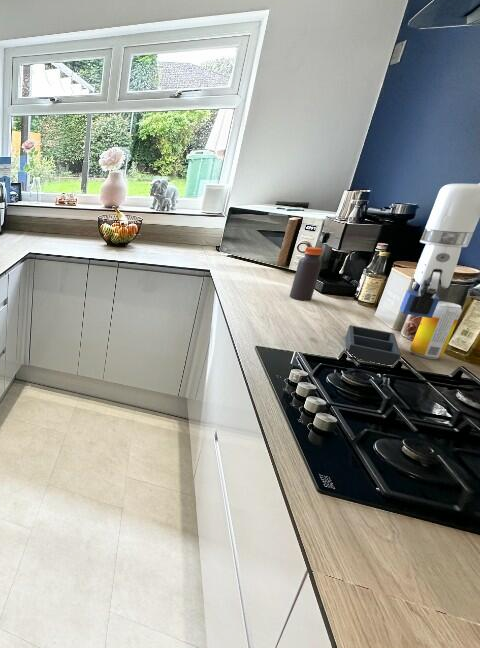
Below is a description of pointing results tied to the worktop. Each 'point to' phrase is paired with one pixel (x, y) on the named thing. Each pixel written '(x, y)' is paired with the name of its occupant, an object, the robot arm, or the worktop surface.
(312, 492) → the worktop surface
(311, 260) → the bottle
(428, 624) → the worktop surface
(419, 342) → the beer can
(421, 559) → the worktop surface
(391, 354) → the sorting tray
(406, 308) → the blue block
